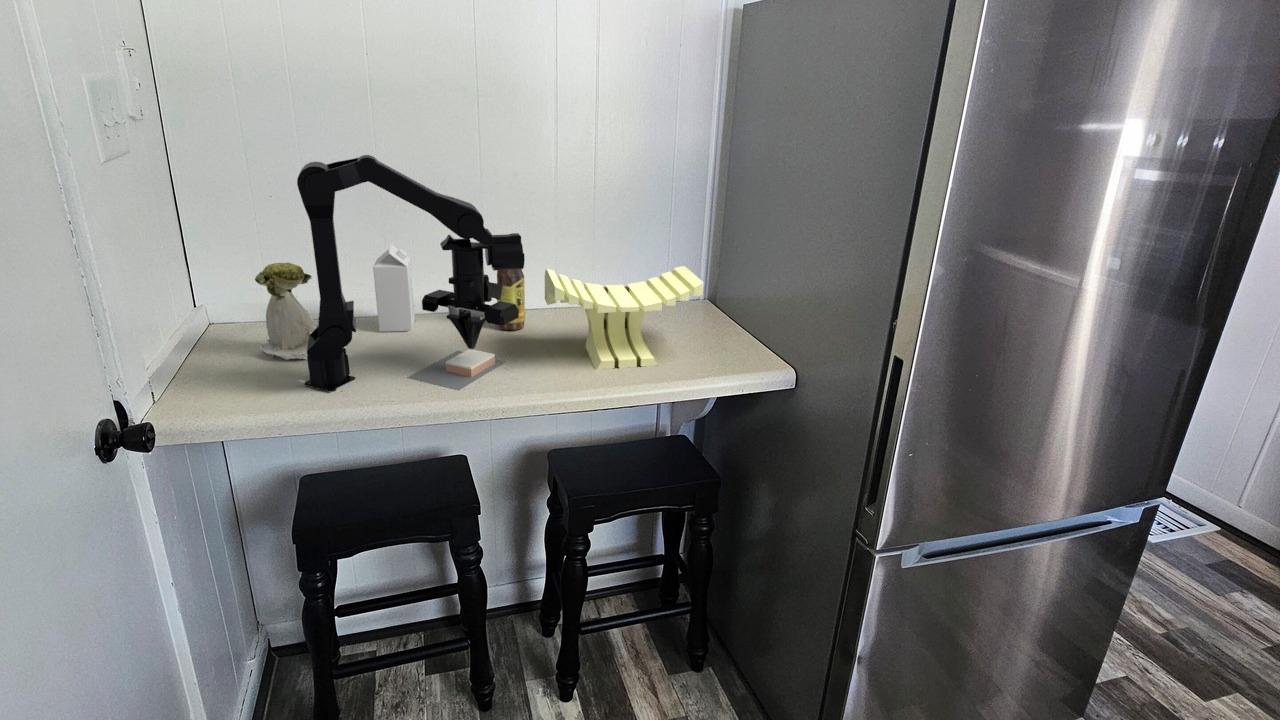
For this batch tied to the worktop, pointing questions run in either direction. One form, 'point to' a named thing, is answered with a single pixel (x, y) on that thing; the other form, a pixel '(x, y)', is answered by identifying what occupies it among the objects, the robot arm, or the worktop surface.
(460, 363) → the tile
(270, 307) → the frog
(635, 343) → the yellow slatted pedestal stand
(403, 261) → the milk carton
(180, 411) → the worktop surface
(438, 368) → the mat
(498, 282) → the sauce bottle
